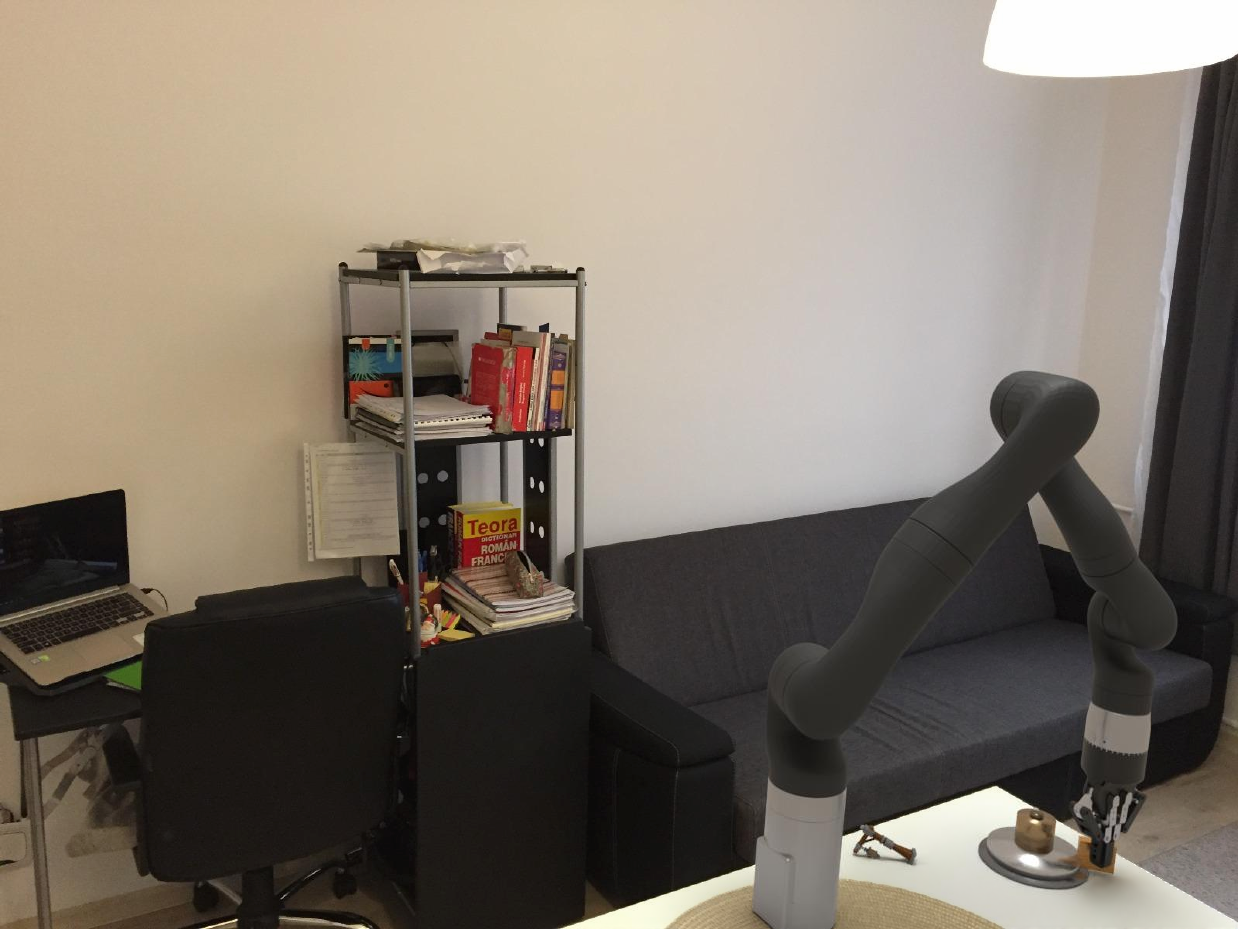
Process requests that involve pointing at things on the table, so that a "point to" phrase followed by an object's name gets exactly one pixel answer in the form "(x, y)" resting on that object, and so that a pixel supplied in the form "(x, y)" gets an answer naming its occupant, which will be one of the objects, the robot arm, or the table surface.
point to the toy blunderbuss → (886, 842)
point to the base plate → (1030, 881)
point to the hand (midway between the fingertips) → (1100, 864)
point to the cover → (1035, 831)
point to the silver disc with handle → (1043, 856)
